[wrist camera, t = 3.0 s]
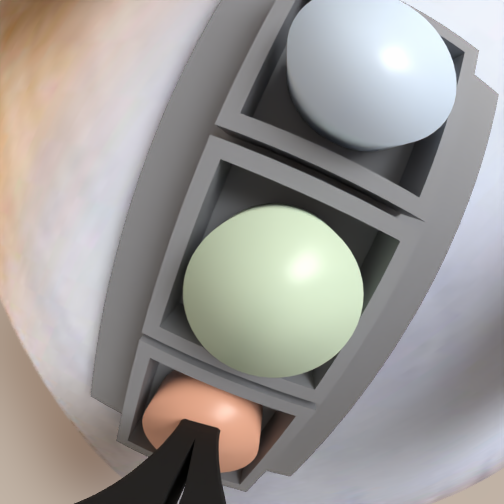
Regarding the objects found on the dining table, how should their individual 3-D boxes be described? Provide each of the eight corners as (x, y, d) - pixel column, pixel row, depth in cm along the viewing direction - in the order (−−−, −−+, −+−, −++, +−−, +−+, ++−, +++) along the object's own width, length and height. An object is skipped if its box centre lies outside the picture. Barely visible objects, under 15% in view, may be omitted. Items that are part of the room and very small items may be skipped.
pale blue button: (438, 62, 7) (468, 43, 5) (399, 177, 8) (429, 177, 6) (315, 2, 7) (321, -33, 5) (263, 113, 8) (257, 94, 6)
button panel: (485, 98, 9) (528, 85, 6) (290, 463, 14) (289, 505, 11) (244, -17, 9) (232, -60, 6) (99, 385, 14) (71, 419, 11)
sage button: (372, 241, 9) (394, 257, 7) (307, 359, 10) (311, 397, 8) (234, 179, 9) (220, 179, 7) (184, 309, 10) (162, 338, 8)
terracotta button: (281, 390, 11) (279, 425, 9) (239, 451, 12) (233, 483, 10) (173, 346, 11) (155, 376, 9) (150, 416, 12) (134, 444, 10)
